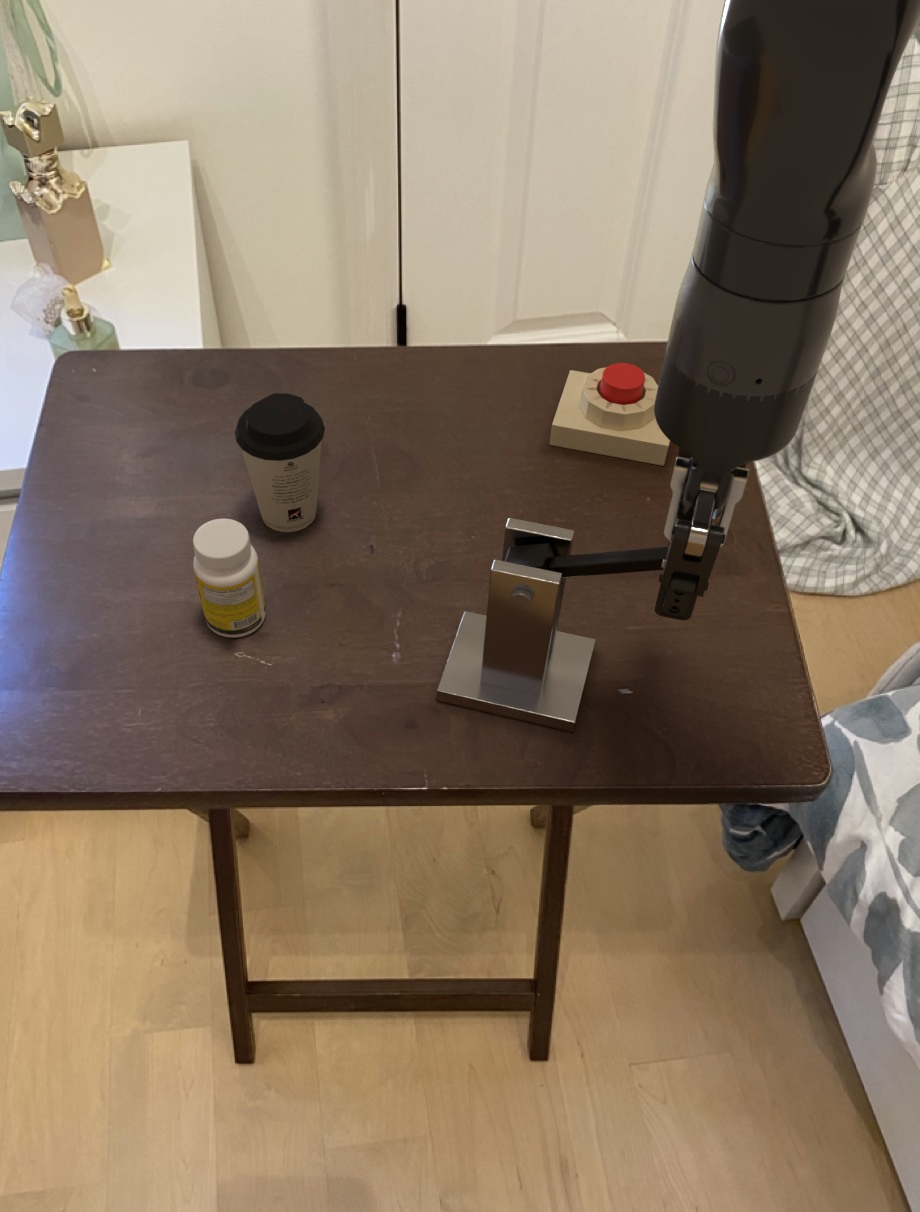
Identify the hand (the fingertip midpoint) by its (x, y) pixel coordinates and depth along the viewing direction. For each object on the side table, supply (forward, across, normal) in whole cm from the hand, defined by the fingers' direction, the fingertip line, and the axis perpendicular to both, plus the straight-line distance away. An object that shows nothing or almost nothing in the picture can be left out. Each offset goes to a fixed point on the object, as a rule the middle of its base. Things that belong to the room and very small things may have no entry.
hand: (678, 580), depth 68 cm
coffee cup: (+13, +12, +31) cm, 36 cm away
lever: (+1, 0, +5) cm, 5 cm away
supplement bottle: (+13, 0, +31) cm, 34 cm away
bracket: (+13, 0, +9) cm, 16 cm away
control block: (+13, +30, +8) cm, 33 cm away
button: (+9, +30, +7) cm, 32 cm away
